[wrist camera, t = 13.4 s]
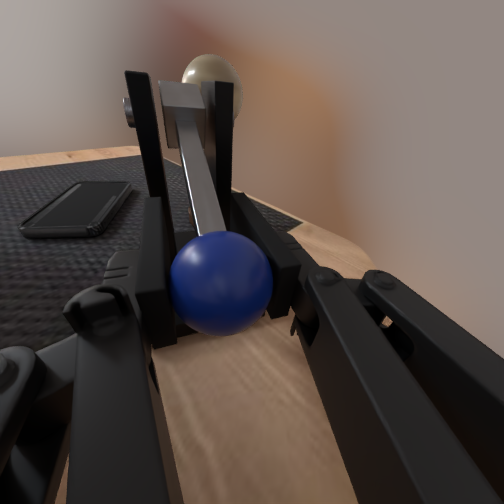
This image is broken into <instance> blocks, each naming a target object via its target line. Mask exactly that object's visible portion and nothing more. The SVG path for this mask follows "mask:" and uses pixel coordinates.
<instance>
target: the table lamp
mask: <svg viewBox="0 0 504 504" xmlns="http://www.w3.org/2000/svg"><path fill="white" fill-rule="evenodd" d="M201 81H224V82H233V83H234V101H233V111H234V120H235V118H236V117H237V116H238V114H239V111H240V109H241V105H242V99H243V92H242V85H241V82H240V79H239V77H238V74H237V72H236V71H235V69H234V68H233V67H232V65H231V64H229V62H227V61H226V60H225V59H223V58H221V57H219V56H217V55H212V54H206V55H202V56H199V57H197V58H195V59H194V60H193V61H192V62H191V63H190V64H189V65H188V67H187V68H186V70H185V72H184V75H183V79H182V83H190V84H197V85H198V88H199V90H200V93H201ZM201 96H202V93H201ZM188 212H189V221H190V223H191V225H192V226H194V224H193V219H192V214H191V208H190V207H189V209H188Z"/></svg>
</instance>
